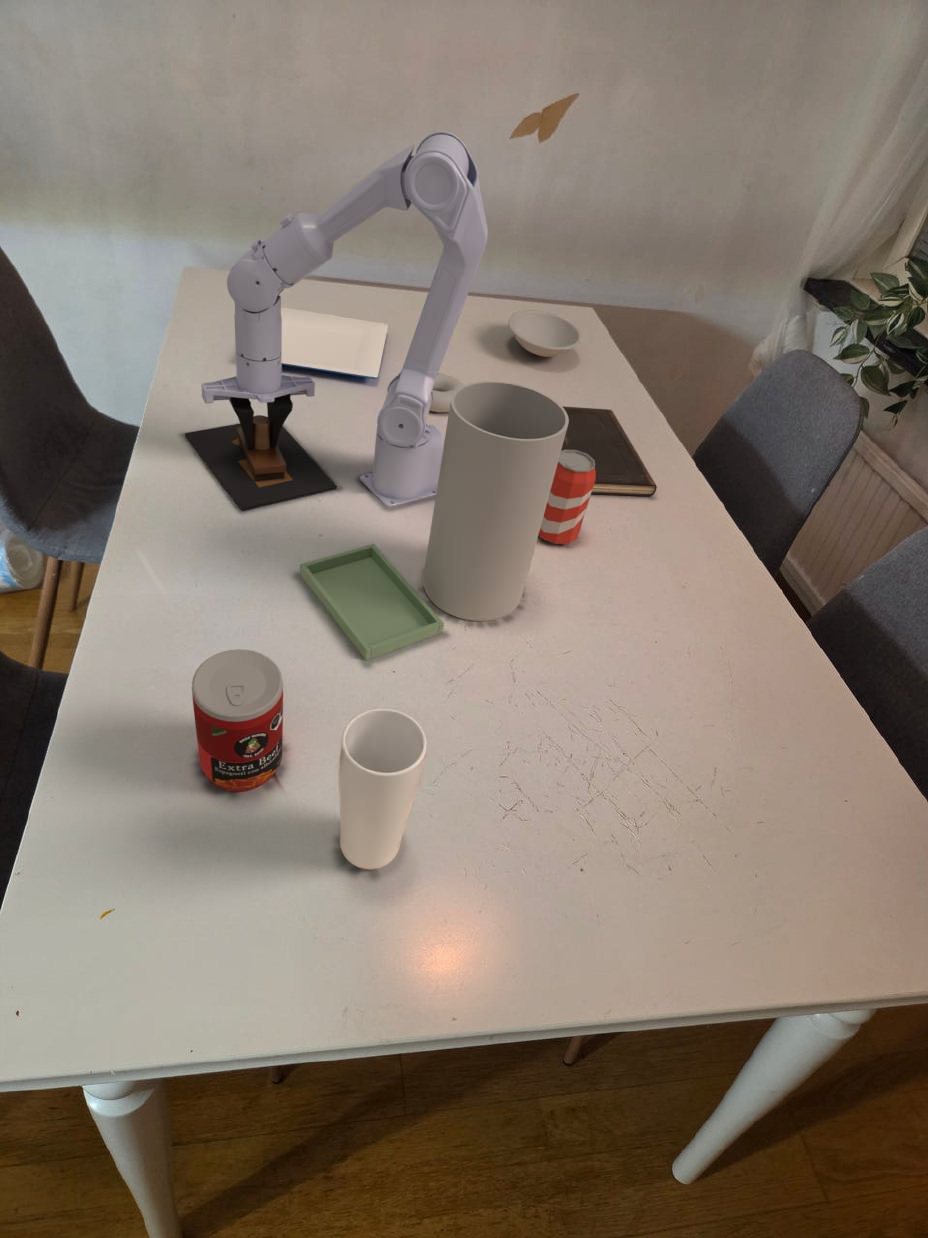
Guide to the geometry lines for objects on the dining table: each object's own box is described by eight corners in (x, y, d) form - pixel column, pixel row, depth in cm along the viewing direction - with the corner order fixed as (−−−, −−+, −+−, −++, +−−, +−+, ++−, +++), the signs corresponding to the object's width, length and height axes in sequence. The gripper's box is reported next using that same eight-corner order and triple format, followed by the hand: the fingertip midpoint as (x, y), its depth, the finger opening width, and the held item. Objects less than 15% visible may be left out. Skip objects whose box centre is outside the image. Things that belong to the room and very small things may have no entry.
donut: (400, 408, 132) (459, 421, 131) (402, 388, 129) (462, 402, 129) (415, 383, 139) (470, 395, 139) (417, 364, 137) (473, 376, 136)
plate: (376, 387, 135) (377, 376, 134) (242, 367, 133) (242, 355, 132) (387, 333, 152) (388, 323, 151) (268, 315, 150) (268, 304, 148)
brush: (236, 442, 115) (235, 401, 111) (267, 439, 117) (267, 399, 113) (254, 482, 109) (253, 441, 104) (286, 479, 110) (286, 438, 106)
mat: (274, 419, 123) (274, 416, 122) (336, 488, 112) (337, 485, 111) (184, 435, 115) (184, 432, 115) (241, 511, 104) (241, 507, 104)
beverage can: (524, 531, 111) (543, 456, 103) (551, 515, 115) (572, 442, 107) (557, 553, 109) (579, 478, 101) (585, 536, 112) (608, 463, 104)
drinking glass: (332, 812, 73) (341, 705, 63) (406, 813, 75) (426, 708, 65) (330, 880, 68) (339, 775, 58) (408, 880, 70) (430, 777, 60)
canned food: (212, 804, 72) (204, 726, 65) (190, 739, 77) (180, 659, 70) (294, 779, 75) (295, 702, 68) (268, 718, 80) (267, 640, 73)
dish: (501, 329, 162) (506, 305, 159) (570, 339, 164) (576, 315, 160) (505, 367, 149) (511, 342, 146) (580, 378, 151) (587, 353, 147)
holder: (372, 555, 102) (373, 543, 101) (441, 635, 93) (444, 623, 92) (299, 576, 97) (299, 564, 96) (365, 662, 88) (366, 650, 87)
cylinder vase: (471, 547, 106) (507, 371, 90) (540, 598, 101) (592, 421, 84) (401, 581, 99) (426, 396, 82) (471, 639, 93) (513, 453, 77)
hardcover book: (555, 493, 120) (559, 480, 118) (522, 415, 136) (525, 403, 134) (653, 497, 123) (658, 484, 122) (610, 421, 140) (614, 409, 138)
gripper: (207, 368, 97) (213, 465, 106) (323, 362, 103) (319, 454, 112) (195, 342, 101) (202, 437, 110) (307, 338, 107) (304, 428, 116)
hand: (260, 444), depth 111 cm, fingers closed on brush, 2 cm apart
